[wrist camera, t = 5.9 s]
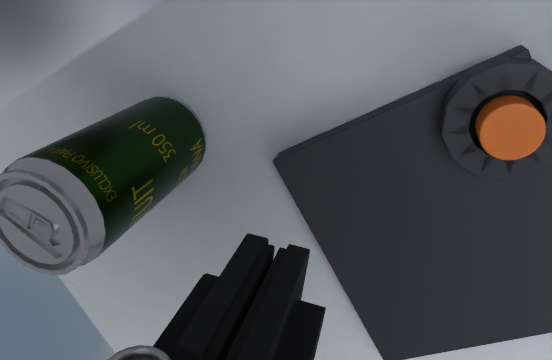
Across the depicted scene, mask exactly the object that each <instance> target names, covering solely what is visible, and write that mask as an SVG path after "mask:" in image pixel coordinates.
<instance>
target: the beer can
mask: <svg viewBox="0 0 552 360" xmlns="http://www.w3.org/2000/svg"><path fill="white" fill-rule="evenodd" d="M205 146H206V142H205V132H204V129H203V126H202V123H201V121H200V120H199V118H198V117H197V115H196V114H195V113H194V112H193V111H192V110H191V109H190V108H189V107H187V106H186V105H185V104H183V103H180V102H178V101H176V100H173V99H170V98H164V97H154V98H150V99H146V100H144V101H142V102H140V103H137V104H135V105H133V106H131V107H129V108H127V109H125V110H122V111H120V112H118V113H116V114H114V115H112V116H110V117H107V118H105V119H103V120H101V121H99V122H97V123H95V124H92V125H90V126H88V127H86V128H84V129H82V130H80V131H77V132H75V133H73V134H71V135H69V136H67V137H65V138H62V139H60V140H58V141H56V142H54V143H52V144H50V145H47V146H45V147H43V148H41V149H39V150H37V151H35V152H32V153H30V154H28V155H26V156H24V157H22V158H20V159H17V160H16V161H14V162H13V163H12V164H11V165H9V166H8V167H7V168H6V169H5V170H4V172H3V173H1V174H0V243H1V244H2V245H3V247H4V248H5V249H6V250H7V251H8V253H10V254H11V255H12V256H13V257H15V258H16V259H17V260H18V261H19V262H21V263H22V264H23V265H25V266H27V267H29V268H31V269H33V270H35V271H37V272H40V273H45V274H49V275H62V274H67V273H69V272H71V271H72V270H74V269H76V268H77V267H79V266H82V265H85V264H87V263H89V262H90V261H92V260H94V259H96V258H97V257H98V256H99V255H100V254H101V253H102V252H104V251H105V250H106V249H107V248H108V247H109V246H110V245H111V244H113V243H114V242H115V241H116V240H117V239H118V238H119V237H120V236H122V235H123V234H124V233H125V232H126V231H127V230H128V229H129V228H131V227H132V226H133V225H134V224H135V223H136V222H137V221H138V220H140V219H141V218H142V217H143V216H144V215H145V214H146V213H147V212H149V211H150V210H151V209H152V208H153V207H154V206H155V205H156V204H157V203H159V202H160V201H161V200H162V199H163V198H164V197H165V196H166V195H168V194H169V193H170V192H171V191H172V190H173V189H174V188H175V187H177V186H178V185H179V184H180V183H181V182H182V181H183V180H184V179H186V178H187V177H188V176H189V175H190V174H191V173H192V172H193V171H195V170H196V168H197V167H198V166H199V164H200V163H201V162H202V159H203V156H204V153H205Z"/></svg>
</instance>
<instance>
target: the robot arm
mask: <svg viewBox="0 0 552 360" xmlns="http://www.w3.org/2000/svg"><path fill="white" fill-rule="evenodd" d="M309 253H310V249H306V248H302V247H299V246H295V245H291V244H289V245H288V247H287V249H284V248H281V247H280V248H279V250H278V252H277V254H276V256H275V258H274V260H273V256H274V246H273V245H269V244H268V238H264V237H261V236H257V235H253V234H249V233H248V234H247V235H246V236H245V238H244V239H243V241H242V242H241V244H240V245H239V247H238V248H237V250H236V252H235V253H234V255H233V256H232V258H231V259H230V261H229V262H228V264H227V265H226V267H225V269H224V270H223V272H222V273H221V275H220V276H219V277H217V276H214V275H210V274H207V273H206V274H204V275H203V276H202V277H201V279H200V280H199V282H198V283H197V284H196V286H195V287H194V289H193V290H192V291H191V293H190V294H189V296H188V297H187V299H186V300H185V301H184V303H183V304H182V306H181V307H180V309H179V310H178V311H177V313H176V314H175V316H174V317H173V319H172V320H171V321H170V323H169V324H168V326H167V327H166V329H165V330H164V331H163V333H162V334H161V336H160V337H159V339H158V340H157V341H156V343H155V344H154V346H153V347H152V346H140V345H139V346H134V347H129V348H126V349H124V350H121V351H119V352H117V353H116V354H114V355H113V356H112V357H111V358H109V359H108V360H314V357H315V353H316V349H317V345H318V341H319V336H320V332H321V327H322V323H323V318H324V314H325V309H326V308H325V307H322V306H318V305H315V304H311V303H308V302H304V301H301V297H302V291H303V286H304V280H305V275H306V269H307V264H308V259H309Z"/></svg>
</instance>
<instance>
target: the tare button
mask: <svg viewBox="0 0 552 360" xmlns="http://www.w3.org/2000/svg"><path fill="white" fill-rule="evenodd" d="M475 128H476V133H477V135H478V138H479V141H480V143H481V145H482V147H483V149H484V150H485V151H486V152H487V153H488V154H489V155H491V156H493V157H495V158H497V159H501V160H517V159H521V158H524V157H526V156H528V155H530V154H531V153H533V152H534V151H535V150H536V149H537V148H538V147H539V146H540V145H541V143H542V141H543V139H544V137H545V133H546V124H545V120H544V118H543V116H542V115H541V114H540V112H539V111H538V110H537V109H536V108H535V107H534V106H533V105H532V104H531V103H530V102H529V101H528V100H526V99H525V98H522V97H519V96H514V95H507V96H501V97H498V98H495V99H493V100H491V101H490V102H488V103H487V104H486V105H485V106H484V107H483V108H482V109H481V110H480V112H479V113H478V116H477V118H476V123H475Z"/></svg>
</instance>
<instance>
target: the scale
mask: <svg viewBox="0 0 552 360" xmlns="http://www.w3.org/2000/svg"><path fill="white" fill-rule="evenodd" d="M507 95H514V96H519V97H522V98H525V99H526V100H528V101H529V102H530V103H531V104H532V105H533V106H534V107H535V108H536V109H537V110H538V111H539V112H540V114H541V115H542V116H543V118H544V120H545V124H546V133H545V137H544V139H543V141H542V143H541V145H540V146H539V147H538V148H537V149H536V150H535V151H534V152H533V153H531V154H530V155H528V156H526V157H524V158H521V159H517V160H501V159H497V158H495V157H493V156H491V155H489V154H488V153H487V152H486V151H485V150H484V149H483V147H482V145H481V143H480V141H479V138H478V135H477V133H476V128H475V123H476V118H477V116H478V113H479V112H480V110H481V109H482V108H483V107H484V106H485V105H486V104H487V103H488V102H490V101H491V100H493V99H495V98H498V97H501V96H507ZM273 163H274V165H275V167H276V168H277V170H278V172H279V174H280V176H281V177H282V179H283V181H284V183H285V185H286V186H287V188H288V190H289V192H290V193H291V195H292V197H293V199H294V201H295V202H296V204H297V206H298V208H299V210H300V211H301V213H302V215H303V217H304V219H305V220H306V222H307V224H308V226H309V227H310V229H311V231H312V233H313V235H314V236H315V238H316V240H317V242H318V244H319V245H320V247H321V249H322V251H323V253H324V254H325V256H326V258H327V260H328V261H329V263H330V265H331V267H332V269H333V270H334V272H335V274H336V276H337V278H338V279H339V281H340V283H341V285H342V287H343V288H344V290H345V292H346V294H347V295H348V297H349V299H350V301H351V303H352V304H353V306H354V308H355V310H356V312H357V313H358V315H359V317H360V319H361V321H362V322H363V324H364V326H365V328H366V329H367V331H368V333H369V335H370V337H371V338H372V340H373V342H374V344H375V346H376V347H377V349H378V351H379V353H380V355H381V356H382V358H383V360H403V359H409V358H414V357H420V356H425V355H431V354H436V353H442V352H447V351H453V350H458V349H464V348H469V347H475V346H480V345H485V344H491V343H496V342H502V341H507V340H513V339H518V338H524V337H529V336H535V335H540V334H546V333H551V332H552V71H550V70H549V69H547V68H546V67H544V66H543V65H541V64H540V63H538V62H537V61H535V60H534V59H531V56H530V53H529V50H528V49H526V48H525V47H523V46H522V45H520V46H518V47H516V48H513V49H511V50H509V51H507V52H504V53H502V54H500V55H498V56H495V57H493V58H491V59H489V60H486V61H484V62H482V63H480V64H477V65H475V66H473V67H471V68H468V69H466V70H464V71H462V72H460V73H457V74H455V75H453V76H451V77H448V78H446V79H444V80H442V81H439V82H437V83H435V84H433V85H430V86H428V87H426V88H424V89H421V90H419V91H417V92H415V93H412V94H410V95H408V96H406V97H403V98H401V99H399V100H397V101H394V102H392V103H390V104H388V105H386V106H383V107H381V108H379V109H377V110H374V111H372V112H370V113H368V114H365V115H363V116H361V117H359V118H356V119H354V120H352V121H350V122H347V123H345V124H343V125H341V126H338V127H336V128H334V129H332V130H329V131H327V132H325V133H323V134H321V135H318V136H316V137H314V138H312V139H309V140H307V141H305V142H303V143H300V144H298V145H296V146H294V147H291V148H289V149H287V150H285V151H282V152H280V153H279V154H278V155H277V156H276V158H275V159H274V160H273Z"/></svg>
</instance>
